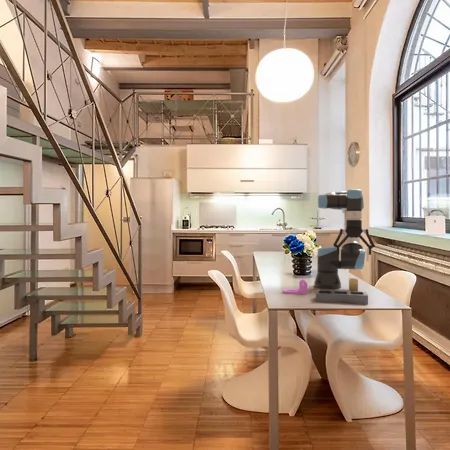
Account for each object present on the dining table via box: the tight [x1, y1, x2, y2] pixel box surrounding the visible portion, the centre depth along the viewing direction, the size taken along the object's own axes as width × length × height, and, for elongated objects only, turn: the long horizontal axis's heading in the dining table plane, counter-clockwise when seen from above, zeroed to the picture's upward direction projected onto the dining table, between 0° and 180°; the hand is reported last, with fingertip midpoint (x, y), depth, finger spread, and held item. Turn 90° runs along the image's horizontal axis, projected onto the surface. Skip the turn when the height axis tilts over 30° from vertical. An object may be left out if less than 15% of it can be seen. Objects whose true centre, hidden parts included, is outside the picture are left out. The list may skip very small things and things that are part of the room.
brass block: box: [348, 277, 359, 292], centre depth 203 cm, size 4×4×9 cm
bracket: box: [281, 279, 308, 295], centre depth 213 cm, size 13×6×7 cm, turn 84°
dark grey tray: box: [315, 289, 369, 305], centre depth 193 cm, size 9×24×4 cm, turn 78°
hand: (353, 261), depth 203 cm, fingers open, 13 cm apart
